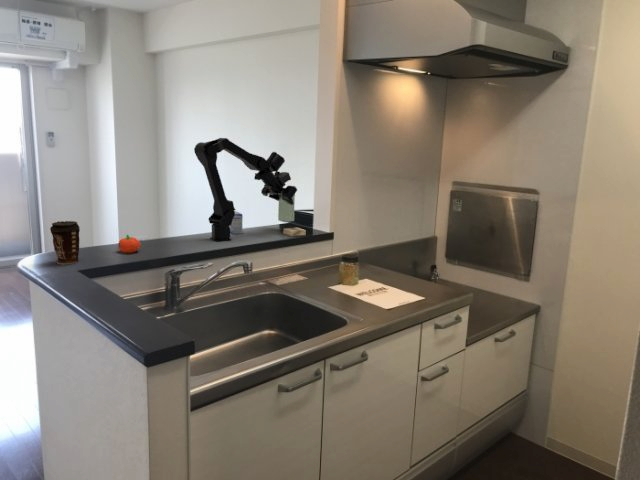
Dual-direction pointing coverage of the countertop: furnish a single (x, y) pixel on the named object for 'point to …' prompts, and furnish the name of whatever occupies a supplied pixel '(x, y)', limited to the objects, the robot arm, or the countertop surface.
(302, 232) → the oak block
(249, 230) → the countertop surface
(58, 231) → the coffee cup
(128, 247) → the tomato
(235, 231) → the medicine box
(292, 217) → the tea tin
